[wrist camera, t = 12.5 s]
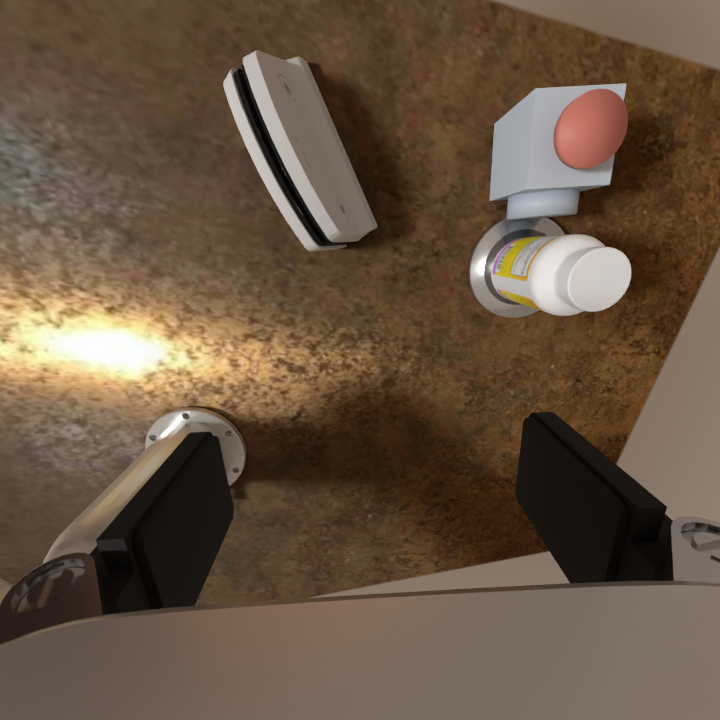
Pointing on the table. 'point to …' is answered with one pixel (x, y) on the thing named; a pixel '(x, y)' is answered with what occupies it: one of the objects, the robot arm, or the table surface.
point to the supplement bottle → (561, 273)
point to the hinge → (298, 150)
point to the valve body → (556, 148)
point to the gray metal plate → (486, 254)
